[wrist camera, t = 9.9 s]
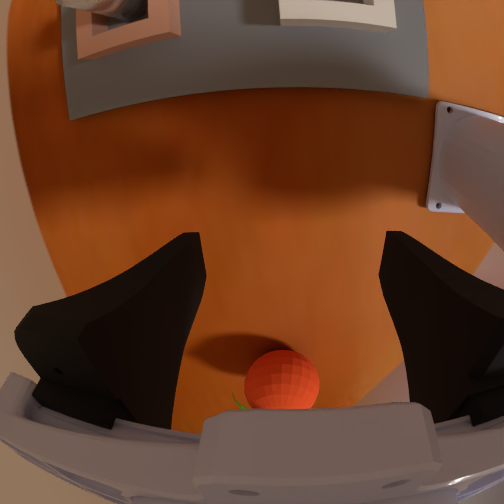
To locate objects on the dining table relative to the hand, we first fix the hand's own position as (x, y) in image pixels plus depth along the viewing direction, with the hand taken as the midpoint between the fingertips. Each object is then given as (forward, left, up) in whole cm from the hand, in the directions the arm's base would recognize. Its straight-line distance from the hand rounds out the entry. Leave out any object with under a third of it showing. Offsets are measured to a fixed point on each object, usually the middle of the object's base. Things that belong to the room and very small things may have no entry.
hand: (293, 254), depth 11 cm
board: (+3, -13, -9) cm, 16 cm away
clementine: (+1, +18, -10) cm, 20 cm away
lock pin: (+9, -13, -8) cm, 18 cm away
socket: (+9, -13, -8) cm, 18 cm away
